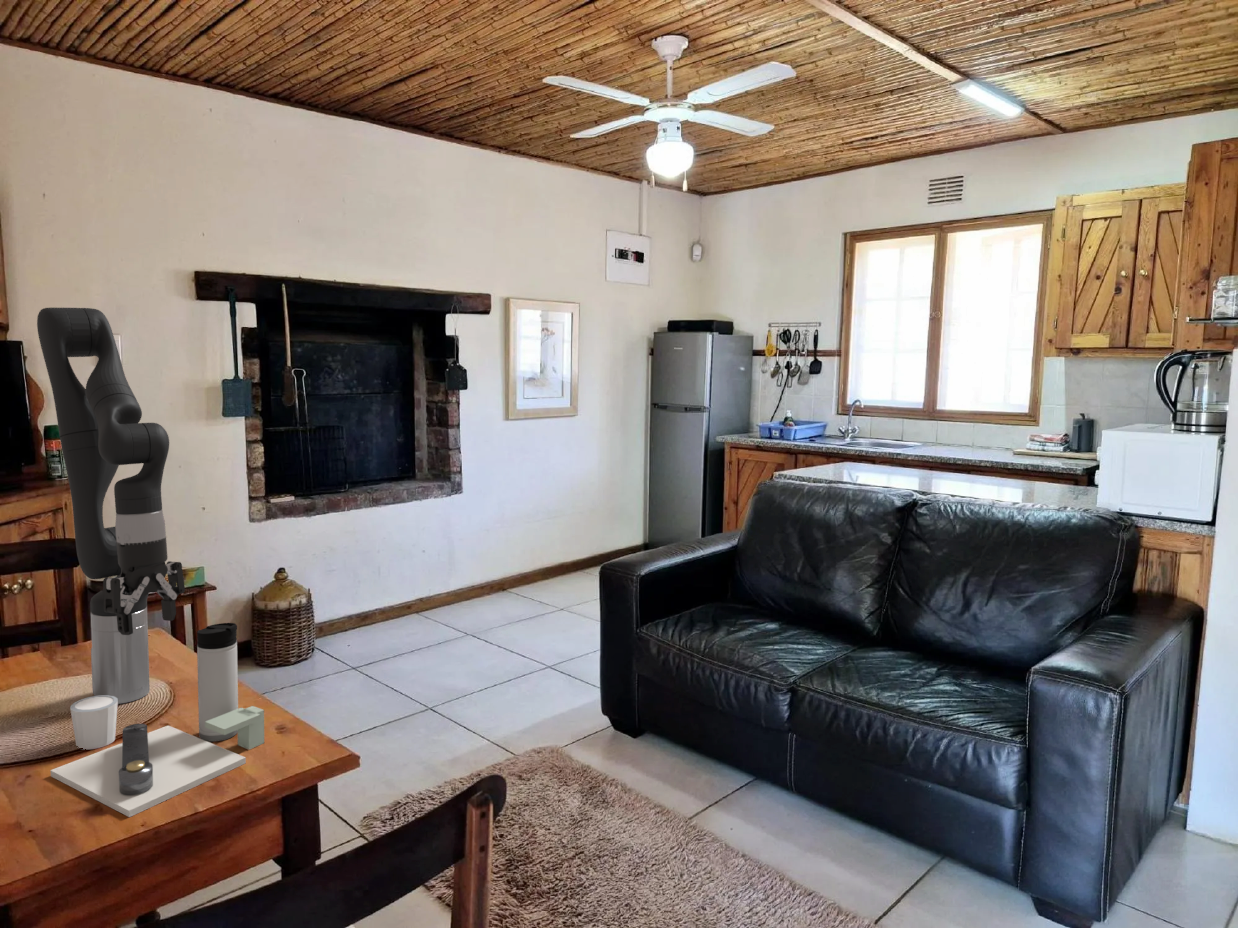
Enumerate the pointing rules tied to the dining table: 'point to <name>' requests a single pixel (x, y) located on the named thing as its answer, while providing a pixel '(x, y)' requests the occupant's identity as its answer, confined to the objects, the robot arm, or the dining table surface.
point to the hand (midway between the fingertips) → (148, 626)
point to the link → (135, 761)
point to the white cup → (94, 721)
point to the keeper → (241, 725)
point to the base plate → (174, 770)
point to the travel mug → (216, 676)
